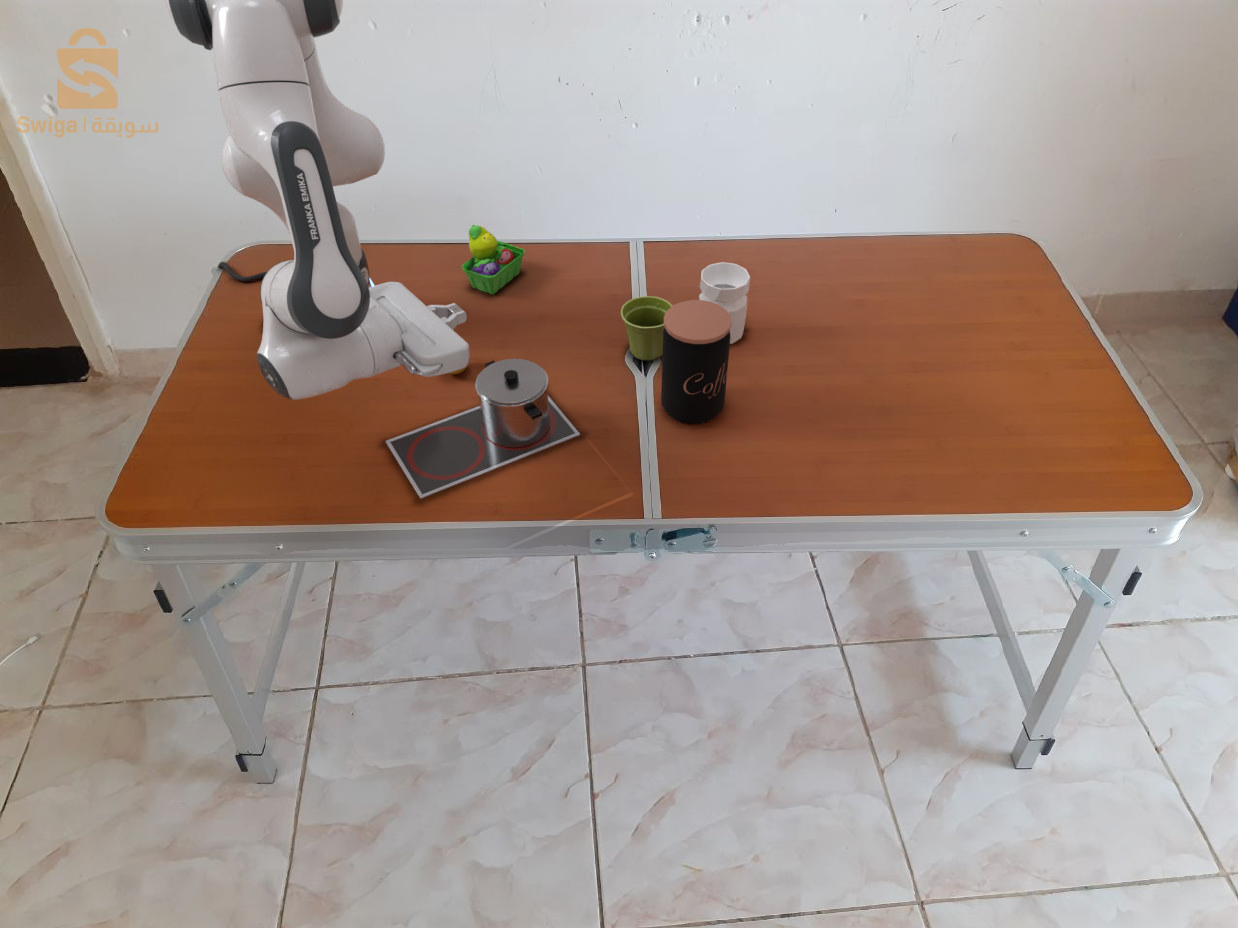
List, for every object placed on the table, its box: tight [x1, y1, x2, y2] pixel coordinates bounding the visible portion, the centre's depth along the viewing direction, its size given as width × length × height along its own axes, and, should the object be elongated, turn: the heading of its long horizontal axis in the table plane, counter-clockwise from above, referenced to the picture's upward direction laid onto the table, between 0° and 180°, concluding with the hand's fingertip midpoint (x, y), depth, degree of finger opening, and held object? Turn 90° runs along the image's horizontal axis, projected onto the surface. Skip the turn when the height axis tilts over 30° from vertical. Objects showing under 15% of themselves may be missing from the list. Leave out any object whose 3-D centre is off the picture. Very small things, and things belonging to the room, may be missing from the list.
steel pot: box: [474, 358, 550, 447], centre depth 155 cm, size 12×16×11 cm
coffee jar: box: [660, 299, 732, 425], centre depth 156 cm, size 11×11×18 cm
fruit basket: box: [461, 224, 526, 296], centre depth 186 cm, size 11×9×11 cm
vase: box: [698, 261, 751, 345], centre depth 173 cm, size 9×9×12 cm
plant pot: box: [620, 295, 673, 361], centre depth 170 cm, size 9×9×9 cm
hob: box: [385, 395, 581, 500], centre depth 156 cm, size 28×15×1 cm, turn 120°
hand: (461, 312), depth 142 cm, fingers closed
